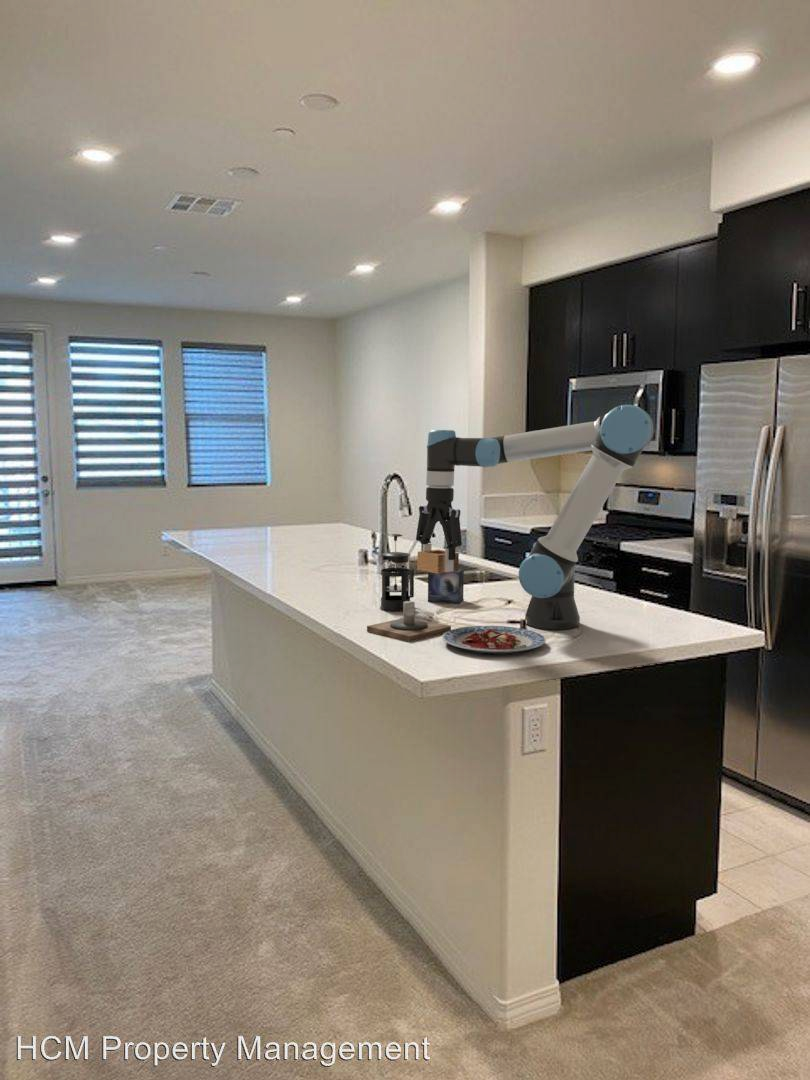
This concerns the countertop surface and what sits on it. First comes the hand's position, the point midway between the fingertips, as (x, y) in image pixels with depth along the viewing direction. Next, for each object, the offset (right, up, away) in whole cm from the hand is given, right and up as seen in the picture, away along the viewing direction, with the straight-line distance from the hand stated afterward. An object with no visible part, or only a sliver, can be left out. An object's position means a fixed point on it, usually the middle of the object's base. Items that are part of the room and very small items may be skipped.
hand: (437, 569), depth 222 cm
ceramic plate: (+13, -19, -19) cm, 30 cm away
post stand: (-8, -17, -5) cm, 19 cm away
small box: (+4, -12, +36) cm, 38 cm away
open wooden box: (0, 0, 0) cm, 0 cm away
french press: (-11, -13, +25) cm, 30 cm away
